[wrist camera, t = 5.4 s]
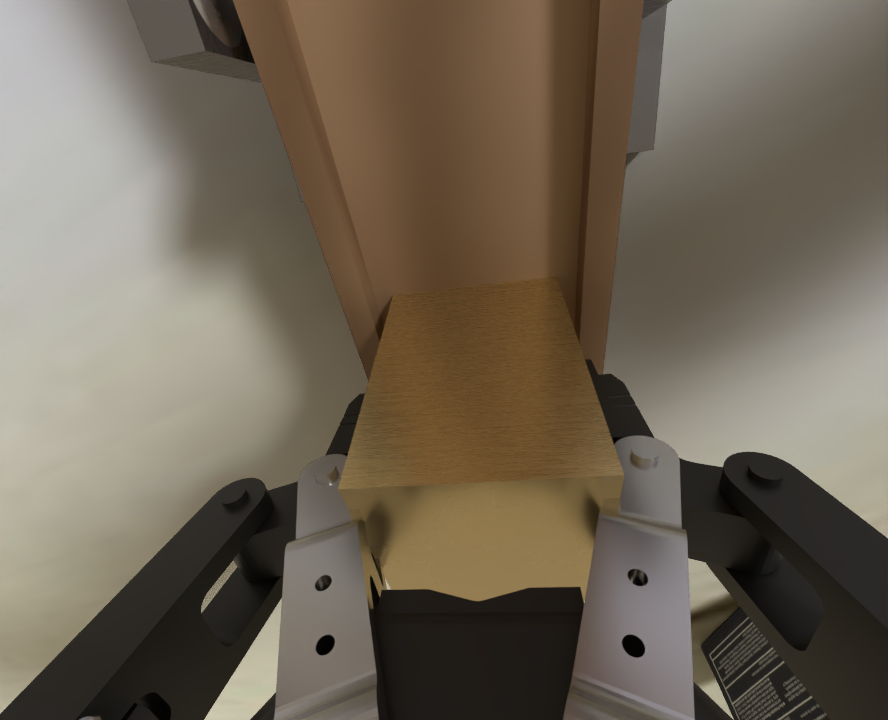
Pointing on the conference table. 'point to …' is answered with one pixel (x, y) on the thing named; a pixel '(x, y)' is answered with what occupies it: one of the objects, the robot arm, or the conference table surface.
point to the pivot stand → (228, 53)
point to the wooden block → (481, 444)
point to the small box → (756, 675)
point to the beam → (455, 143)
